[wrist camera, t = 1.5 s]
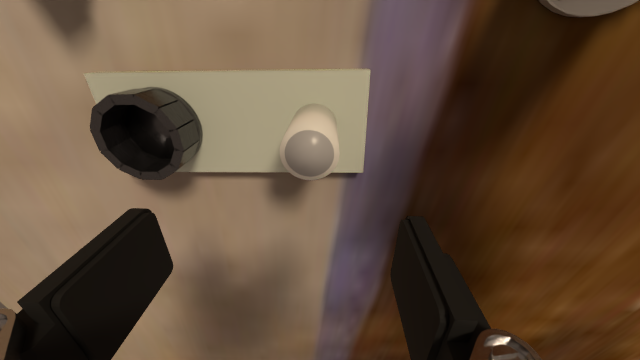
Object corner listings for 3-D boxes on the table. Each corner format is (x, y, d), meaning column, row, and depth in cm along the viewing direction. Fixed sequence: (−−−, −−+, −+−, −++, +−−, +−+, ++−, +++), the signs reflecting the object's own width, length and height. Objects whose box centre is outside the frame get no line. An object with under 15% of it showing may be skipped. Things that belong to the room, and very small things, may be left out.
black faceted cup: (192, 86, 24) (167, 94, 20) (209, 161, 27) (192, 179, 24) (112, 87, 24) (74, 94, 20) (140, 161, 27) (112, 179, 24)
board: (368, 68, 24) (370, 70, 22) (361, 166, 28) (363, 172, 27) (96, 71, 25) (83, 73, 23) (133, 165, 29) (124, 171, 28)
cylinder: (337, 103, 24) (340, 124, 18) (336, 147, 26) (338, 181, 20) (290, 103, 24) (276, 125, 18) (293, 147, 26) (281, 181, 20)
